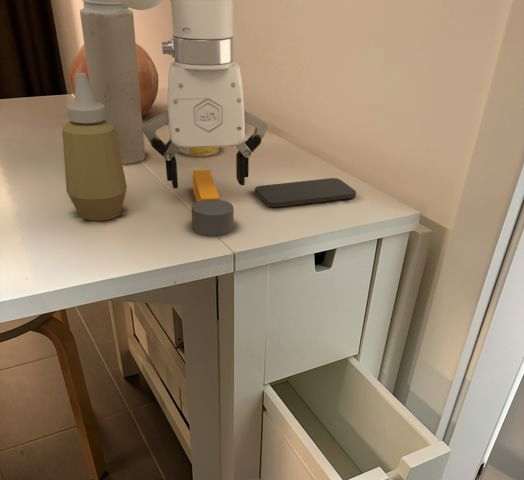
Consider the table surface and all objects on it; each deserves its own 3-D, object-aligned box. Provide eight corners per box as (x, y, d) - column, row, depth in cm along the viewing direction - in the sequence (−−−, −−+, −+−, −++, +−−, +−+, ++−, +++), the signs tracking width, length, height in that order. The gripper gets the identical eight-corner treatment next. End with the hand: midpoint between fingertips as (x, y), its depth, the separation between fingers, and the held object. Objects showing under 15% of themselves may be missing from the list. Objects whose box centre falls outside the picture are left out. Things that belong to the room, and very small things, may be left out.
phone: (252, 186, 87) (337, 177, 92) (252, 191, 87) (336, 182, 92) (270, 203, 81) (359, 193, 86) (269, 209, 82) (358, 198, 87)
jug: (70, 107, 124) (53, 3, 113) (149, 103, 130) (141, 3, 119) (82, 129, 111) (65, 13, 99) (170, 123, 117) (163, 13, 105)
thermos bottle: (89, 158, 97) (61, -36, 80) (118, 147, 103) (97, -36, 86) (126, 167, 94) (105, -33, 78) (154, 154, 100) (139, -33, 83)
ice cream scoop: (236, 235, 74) (236, 212, 73) (194, 237, 73) (194, 214, 71) (219, 189, 88) (218, 169, 86) (183, 190, 87) (182, 170, 85)
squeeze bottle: (67, 205, 80) (44, 68, 69) (124, 200, 82) (109, 66, 72) (73, 228, 74) (48, 81, 63) (134, 221, 77) (120, 79, 66)
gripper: (135, 57, 66) (148, 196, 76) (276, 57, 69) (271, 190, 79) (134, 47, 72) (146, 177, 82) (264, 47, 75) (260, 172, 85)
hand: (208, 183), depth 81 cm, fingers open, 9 cm apart
